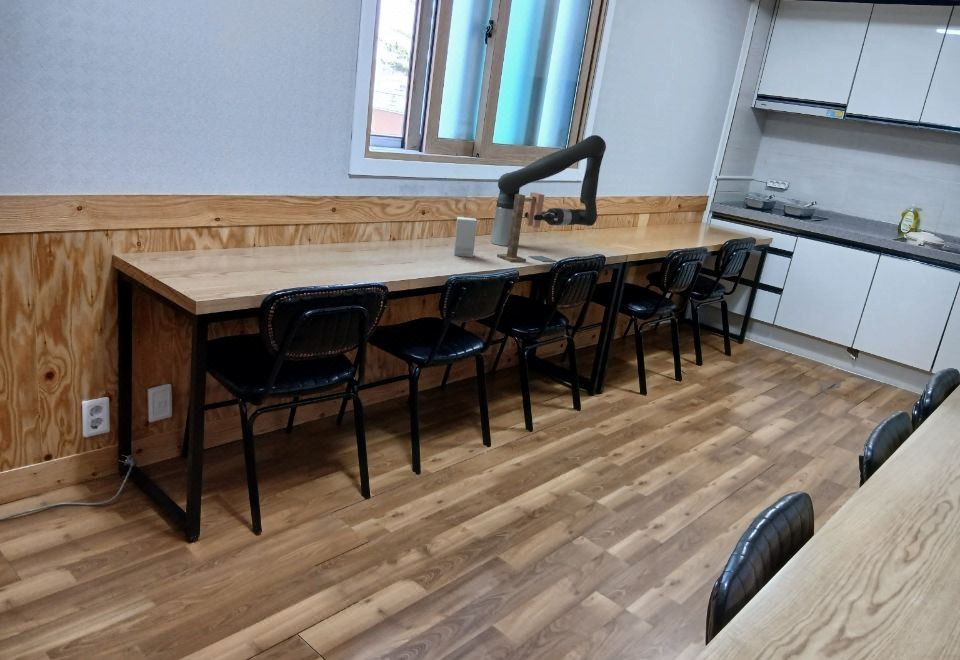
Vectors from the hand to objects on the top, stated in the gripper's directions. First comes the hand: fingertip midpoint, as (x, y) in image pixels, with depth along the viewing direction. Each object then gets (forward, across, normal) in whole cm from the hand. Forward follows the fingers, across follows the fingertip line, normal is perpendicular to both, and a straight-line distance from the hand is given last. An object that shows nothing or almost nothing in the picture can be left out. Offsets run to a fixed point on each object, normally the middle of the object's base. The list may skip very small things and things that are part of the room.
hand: (529, 216), depth 316 cm
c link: (-3, 0, +4) cm, 5 cm away
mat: (-10, +1, +19) cm, 21 cm away
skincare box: (+26, -9, +19) cm, 33 cm away
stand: (+2, 0, +19) cm, 19 cm away
